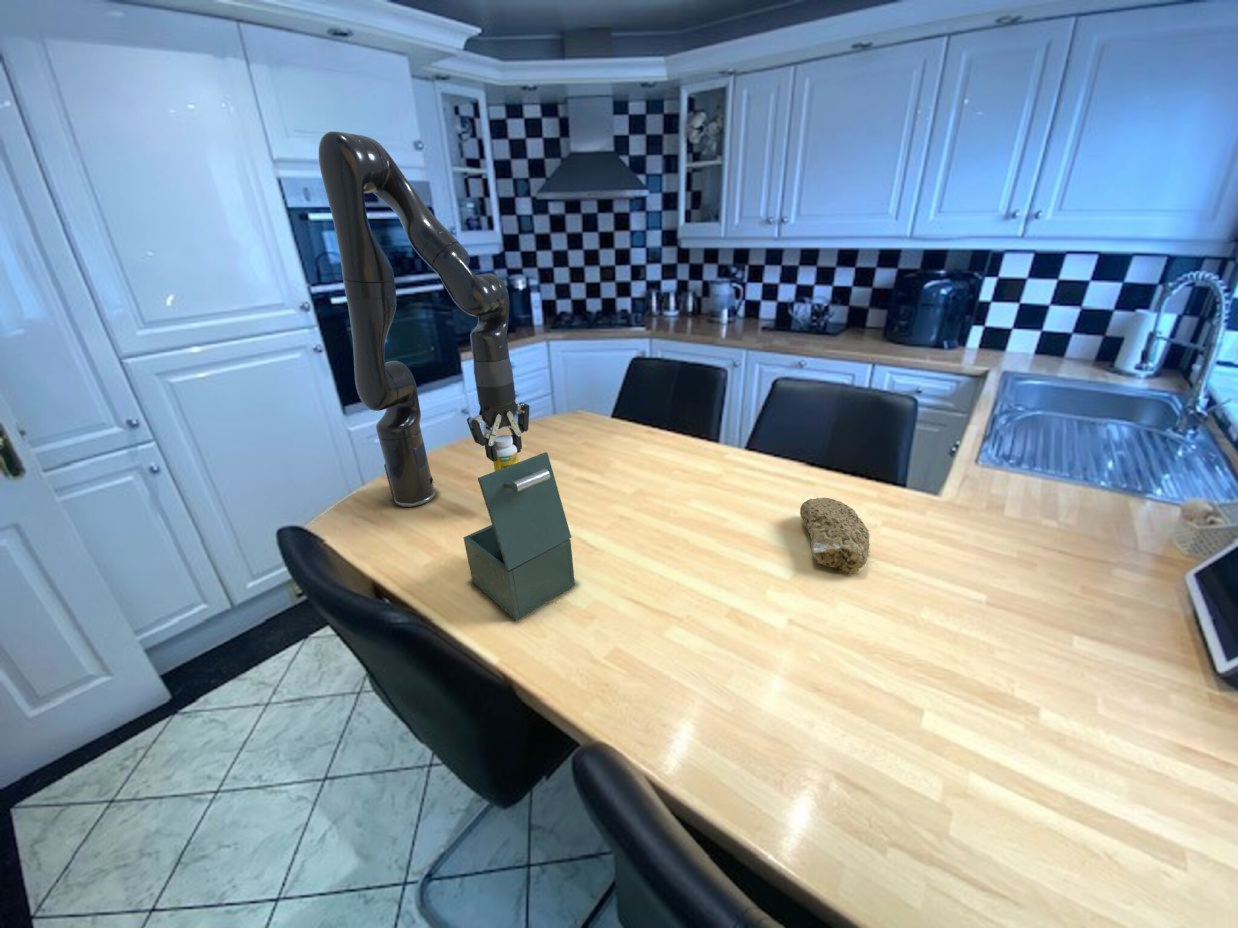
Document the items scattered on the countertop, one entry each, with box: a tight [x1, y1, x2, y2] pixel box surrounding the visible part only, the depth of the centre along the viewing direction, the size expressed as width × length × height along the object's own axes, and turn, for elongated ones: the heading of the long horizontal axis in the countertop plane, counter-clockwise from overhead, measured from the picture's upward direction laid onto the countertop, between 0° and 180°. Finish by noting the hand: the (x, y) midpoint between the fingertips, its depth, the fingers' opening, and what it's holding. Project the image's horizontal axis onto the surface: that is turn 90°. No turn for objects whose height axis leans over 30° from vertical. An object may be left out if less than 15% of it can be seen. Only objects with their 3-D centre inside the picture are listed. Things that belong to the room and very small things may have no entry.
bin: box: [462, 524, 576, 621], centre depth 90 cm, size 15×13×10 cm
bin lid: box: [477, 451, 572, 570], centre depth 80 cm, size 15×13×5 cm
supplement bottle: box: [492, 434, 520, 472], centre depth 110 cm, size 5×5×10 cm
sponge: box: [799, 497, 871, 574], centre depth 98 cm, size 13×8×20 cm
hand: (505, 455), depth 109 cm, fingers closed on supplement bottle, 5 cm apart
